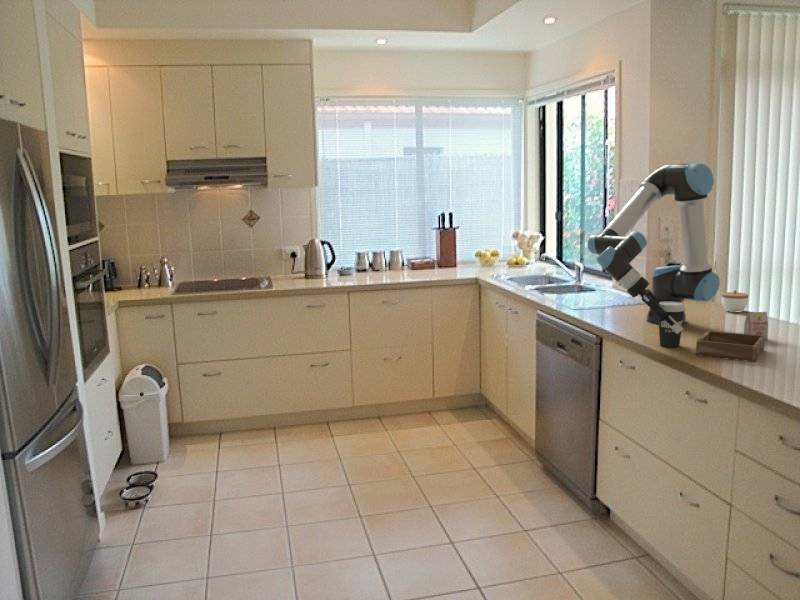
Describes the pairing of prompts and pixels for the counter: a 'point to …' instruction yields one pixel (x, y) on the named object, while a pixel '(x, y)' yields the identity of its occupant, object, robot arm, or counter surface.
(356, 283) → the counter surface
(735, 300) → the lidded jar
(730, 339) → the walnut crate
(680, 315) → the coffee cup
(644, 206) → the robot arm
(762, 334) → the small food carton
